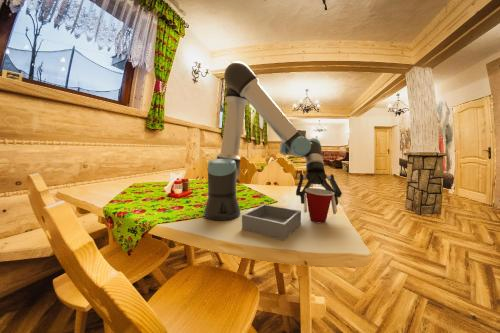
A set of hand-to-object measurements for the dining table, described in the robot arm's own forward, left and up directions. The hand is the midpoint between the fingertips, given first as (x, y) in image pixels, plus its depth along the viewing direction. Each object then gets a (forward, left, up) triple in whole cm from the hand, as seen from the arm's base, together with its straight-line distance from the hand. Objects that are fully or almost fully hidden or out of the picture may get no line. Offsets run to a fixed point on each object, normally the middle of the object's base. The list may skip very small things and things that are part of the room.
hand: (320, 211), depth 69 cm
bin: (-14, -12, -4) cm, 19 cm away
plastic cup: (-1, +3, -5) cm, 6 cm away
